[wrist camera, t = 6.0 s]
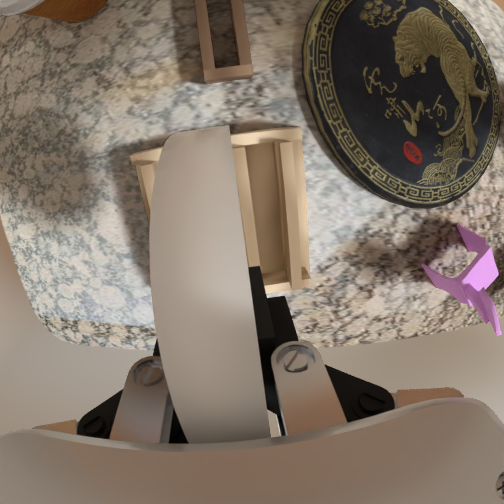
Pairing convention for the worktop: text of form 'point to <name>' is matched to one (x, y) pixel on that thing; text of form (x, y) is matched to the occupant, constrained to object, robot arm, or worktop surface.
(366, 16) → the decorative plate
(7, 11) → the disposable coffee cup
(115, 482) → the robot arm
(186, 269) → the side plate
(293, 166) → the dish rack
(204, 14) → the plate stand
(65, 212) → the worktop surface
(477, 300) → the toy chair
